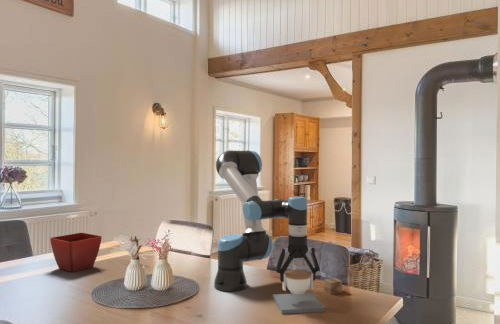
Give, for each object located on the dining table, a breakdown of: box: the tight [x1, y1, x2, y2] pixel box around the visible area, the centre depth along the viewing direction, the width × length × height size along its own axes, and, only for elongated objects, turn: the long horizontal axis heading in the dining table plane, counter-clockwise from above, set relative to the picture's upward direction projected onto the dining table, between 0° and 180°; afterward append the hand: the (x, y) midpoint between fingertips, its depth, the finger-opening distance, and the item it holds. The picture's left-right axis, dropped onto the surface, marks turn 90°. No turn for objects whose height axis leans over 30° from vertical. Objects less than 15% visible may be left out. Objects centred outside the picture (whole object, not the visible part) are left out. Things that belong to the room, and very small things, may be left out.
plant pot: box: [49, 232, 102, 273], centre depth 208 cm, size 19×19×17 cm
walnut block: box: [323, 278, 343, 295], centre depth 172 cm, size 6×5×5 cm
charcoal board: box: [272, 292, 325, 315], centre depth 156 cm, size 17×17×2 cm
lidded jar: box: [284, 268, 311, 294], centre depth 156 cm, size 11×11×9 cm
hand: (297, 289), depth 156 cm, fingers closed on lidded jar, 11 cm apart
